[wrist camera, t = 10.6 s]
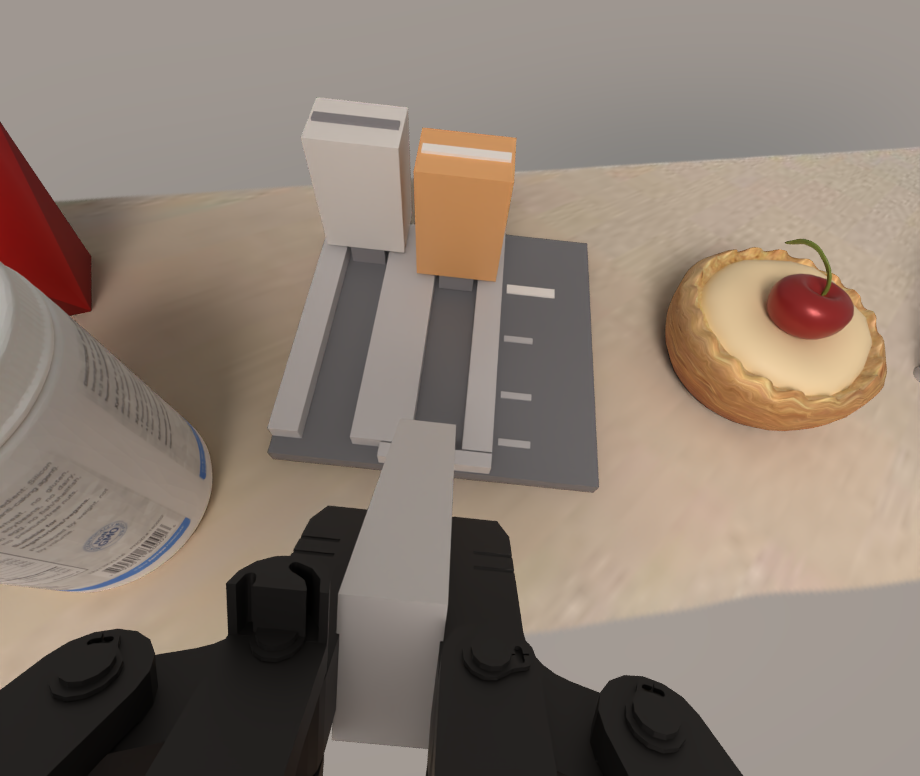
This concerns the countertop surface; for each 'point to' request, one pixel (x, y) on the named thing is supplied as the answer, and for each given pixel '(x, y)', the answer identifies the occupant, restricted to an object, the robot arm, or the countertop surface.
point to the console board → (431, 329)
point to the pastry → (773, 340)
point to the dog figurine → (917, 373)
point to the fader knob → (462, 204)
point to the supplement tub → (86, 456)
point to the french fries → (40, 235)
